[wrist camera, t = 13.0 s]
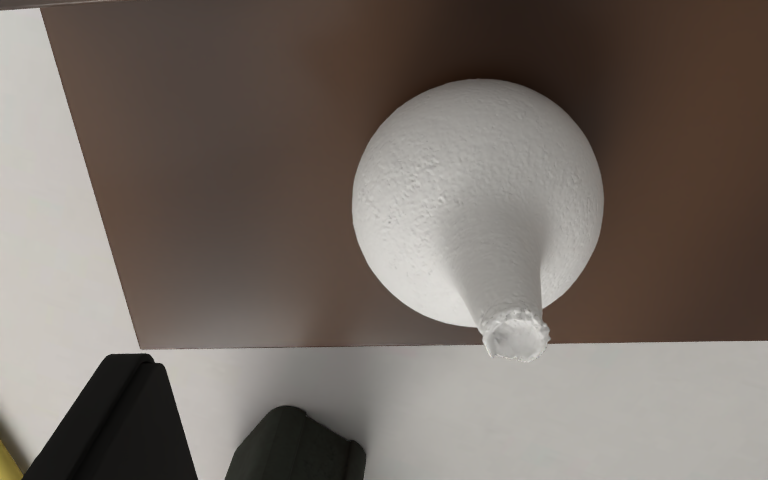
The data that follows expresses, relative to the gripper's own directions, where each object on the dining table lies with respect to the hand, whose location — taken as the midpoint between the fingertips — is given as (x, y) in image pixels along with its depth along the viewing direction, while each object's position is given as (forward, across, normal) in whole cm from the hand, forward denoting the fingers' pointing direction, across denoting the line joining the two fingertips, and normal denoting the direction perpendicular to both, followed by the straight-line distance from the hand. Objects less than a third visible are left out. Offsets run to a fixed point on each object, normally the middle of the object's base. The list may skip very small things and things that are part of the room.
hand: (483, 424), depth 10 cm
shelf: (+15, 0, 0) cm, 15 cm away
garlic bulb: (+10, 0, +1) cm, 10 cm away
